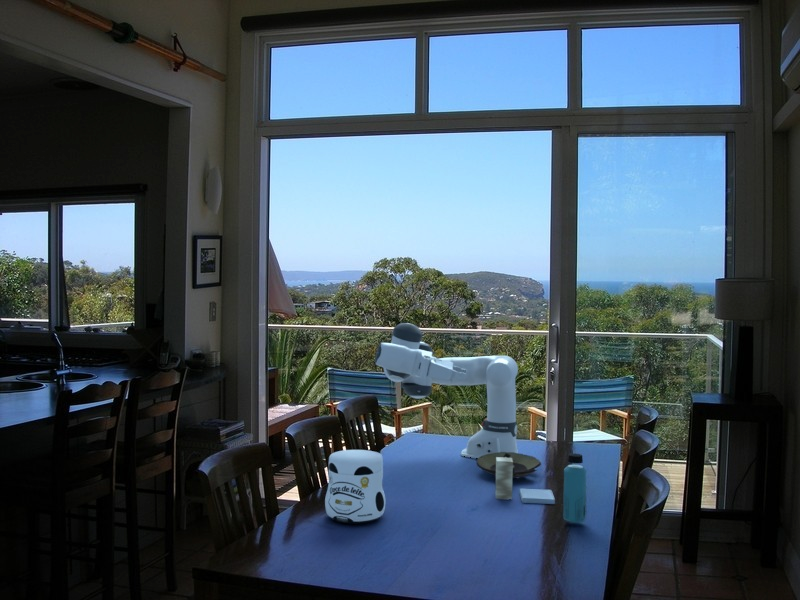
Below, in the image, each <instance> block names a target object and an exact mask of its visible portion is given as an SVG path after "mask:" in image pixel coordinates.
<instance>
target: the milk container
mask: <svg viewBox="0 0 800 600" xmlns="http://www.w3.org/2000/svg"><path fill="white" fill-rule="evenodd" d="M383 460H384V458H383V455H382V453H379V452H377V451H372V450H368V449H367V450H366V449H344V450H339V451H335V452H332V453H331V454H330V455H329V457H328V486H327V489H326V490H327V491H326V494H325V499H324V507H325V512H326V514H327V516H328V517H329V518H330V519H332V520H333V521H335V522H339V523H344V524H350V525H352V524H354V525H355V524H356V525H357V524H359V525H360V524H366V523H367V524H368V523H371V522H375V521H376V520H379V519H380V518H382V516H383V515H384V512H385V510H386V501H387V500H386V495H385V492H384V484H383V482H384V480H383V477H384V468H383V467H384V463H383V462H384V461H383Z"/></svg>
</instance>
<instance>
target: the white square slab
mask: <svg viewBox="0 0 800 600" xmlns="http://www.w3.org/2000/svg"><path fill="white" fill-rule="evenodd" d="M519 496H520V500H521V503H522V504H540V505H541V504H544V505H545V504H547V505H555V504H556V499H555V496H554V494H553V491H552V489H540V488H539V489H537V488H536V489H535V488H519Z"/></svg>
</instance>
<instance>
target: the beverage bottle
mask: <svg viewBox="0 0 800 600" xmlns="http://www.w3.org/2000/svg"><path fill="white" fill-rule="evenodd" d="M567 456H568V457H567V463H568V462H569V463H570V464H568V465H566V467H565V468H563V507H562V517H563V519H564V520H565V521H567V522H570V523H578V524H579V523H583V522H586V519H587V500H588V499H587V493H588V492H587V469H585V467H584V466H582V465H579V464H582V463H583V461H584V460H583V454H582V453H581V454H580V453H576V452H575V453H573V452H572V453H568V455H567Z"/></svg>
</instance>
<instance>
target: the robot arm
mask: <svg viewBox="0 0 800 600" xmlns="http://www.w3.org/2000/svg"><path fill="white" fill-rule="evenodd" d="M421 330H422V329H420V328H419V326H417V325H415V324H412V323H408V322H401V323H399V324H397V325H396V326H395V327H393V330H392V336H391V342H380V343H379V344H378V346H377V348H376V351H375V352H376V353H375V357H374V362H375V365H376V366H379V367H381V368H383V373H384V375H385V377H386V378H387V379H388V380H390V381H392V382H395V383H400V382H402V383H401V384H402V385H401V386H400V388H402V389H403V391H404V393H405V394H406V395H407V396H408V397H411V398H413V399H418V400H419V399H423V398H426V397H429V396H430V395H431V392H432V388H433V386H432V384H437V385H442V386H478V385H486V397H487V400H486V401H487V408H486V409H487V411H486V412H487V413H486V414H487V415H486V418H484V419H483V420H482V422H481V429H480V430H479V431H477V432H475V433H474V434H473V435H471V437H470V438H469V439H468V441H467V445H466V447H465V448H463V449H462V450H461V452H460V455H461V456H462V457H464V456H465V458H470V457H471V458H470V459H476V458H479V457H481V456H483V455H486V454H491V453H500V452H514V453H519V450H518V445H517V433H518V424H517V423H518V422H517V420H516V419H517V398H516V395H517V394H516V377H517V376H518V373H519V367H518V366H519V365H518V364H517V362H516V360H515V359H514V358H512V357H510V356H508V355H489V356H488V355H486V356H485V355H484V356H472V357H471V356H470V357H469V356H468V357H466V356H465V357H464V356H460V357H459V356H458V357H457V356H456V357H453V356H452V357H448V356H447V357H441V358H439V357H438V358H437V357H436V356H433V355H436V351H434V350H433V348H432V347H431V346H430V345H429V344H428V343H427V342H424V341H422V340H423V339H422V338H423V336H424V335H423V332H422V331H421ZM504 458H507V457H504Z"/></svg>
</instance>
